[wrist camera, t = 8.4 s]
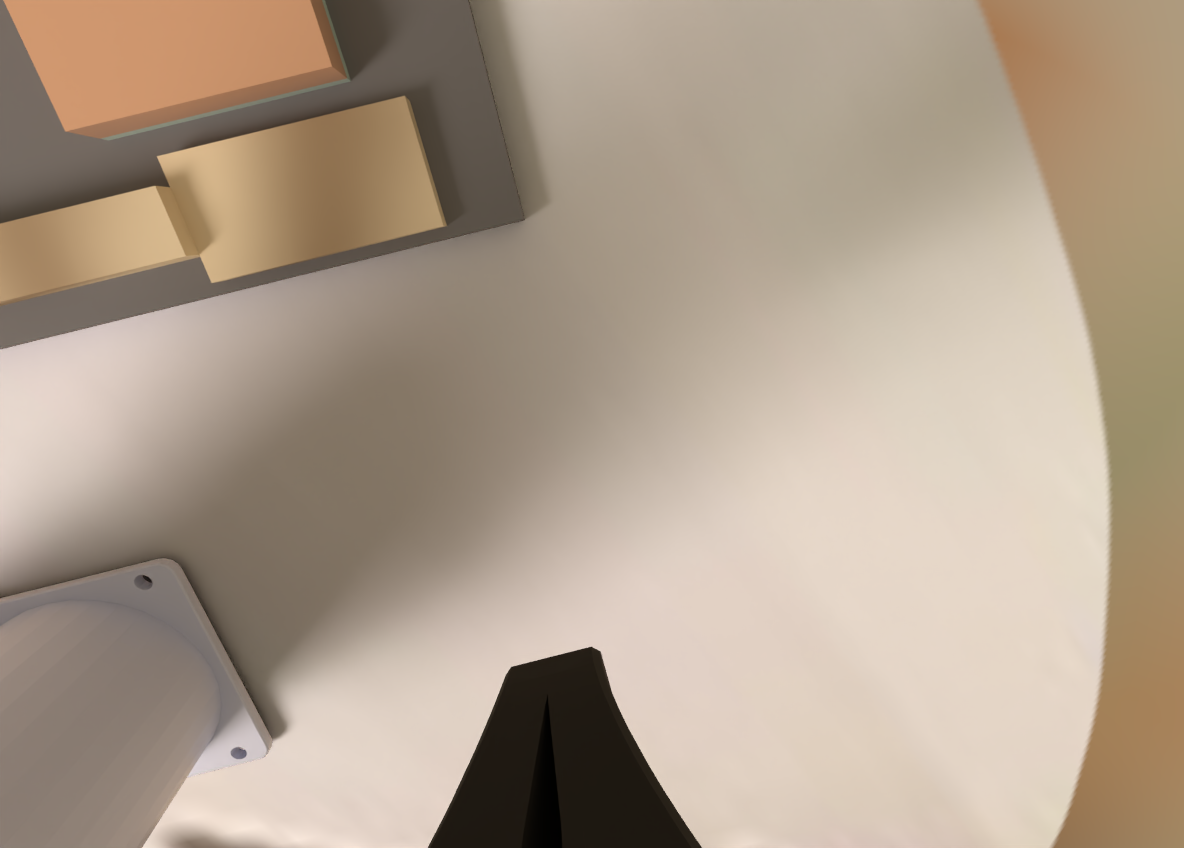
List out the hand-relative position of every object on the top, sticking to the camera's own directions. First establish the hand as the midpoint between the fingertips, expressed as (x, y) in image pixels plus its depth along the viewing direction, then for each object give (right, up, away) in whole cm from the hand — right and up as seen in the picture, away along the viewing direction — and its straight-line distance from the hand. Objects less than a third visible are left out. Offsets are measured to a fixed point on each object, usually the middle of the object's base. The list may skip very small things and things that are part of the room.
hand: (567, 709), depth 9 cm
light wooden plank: (-10, +9, +6) cm, 15 cm away
